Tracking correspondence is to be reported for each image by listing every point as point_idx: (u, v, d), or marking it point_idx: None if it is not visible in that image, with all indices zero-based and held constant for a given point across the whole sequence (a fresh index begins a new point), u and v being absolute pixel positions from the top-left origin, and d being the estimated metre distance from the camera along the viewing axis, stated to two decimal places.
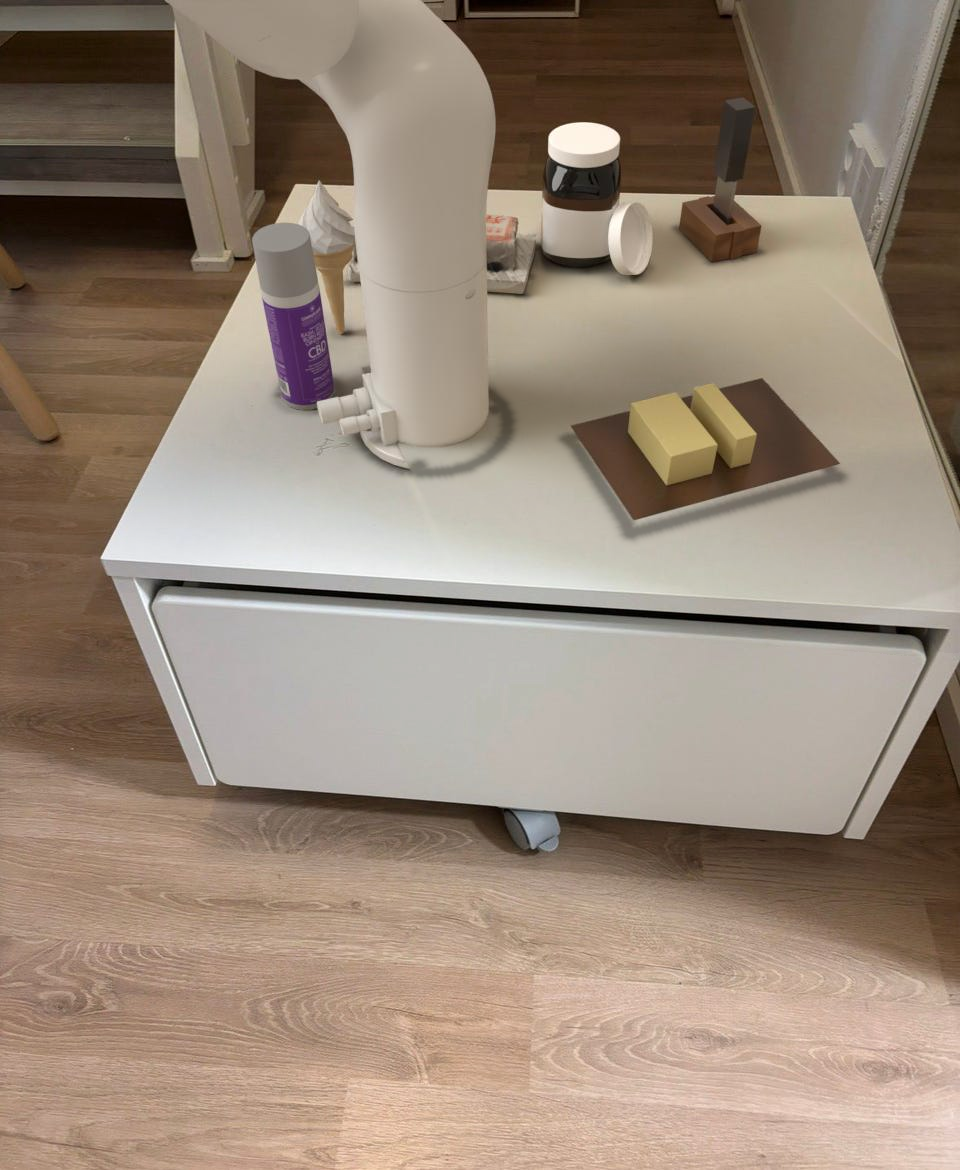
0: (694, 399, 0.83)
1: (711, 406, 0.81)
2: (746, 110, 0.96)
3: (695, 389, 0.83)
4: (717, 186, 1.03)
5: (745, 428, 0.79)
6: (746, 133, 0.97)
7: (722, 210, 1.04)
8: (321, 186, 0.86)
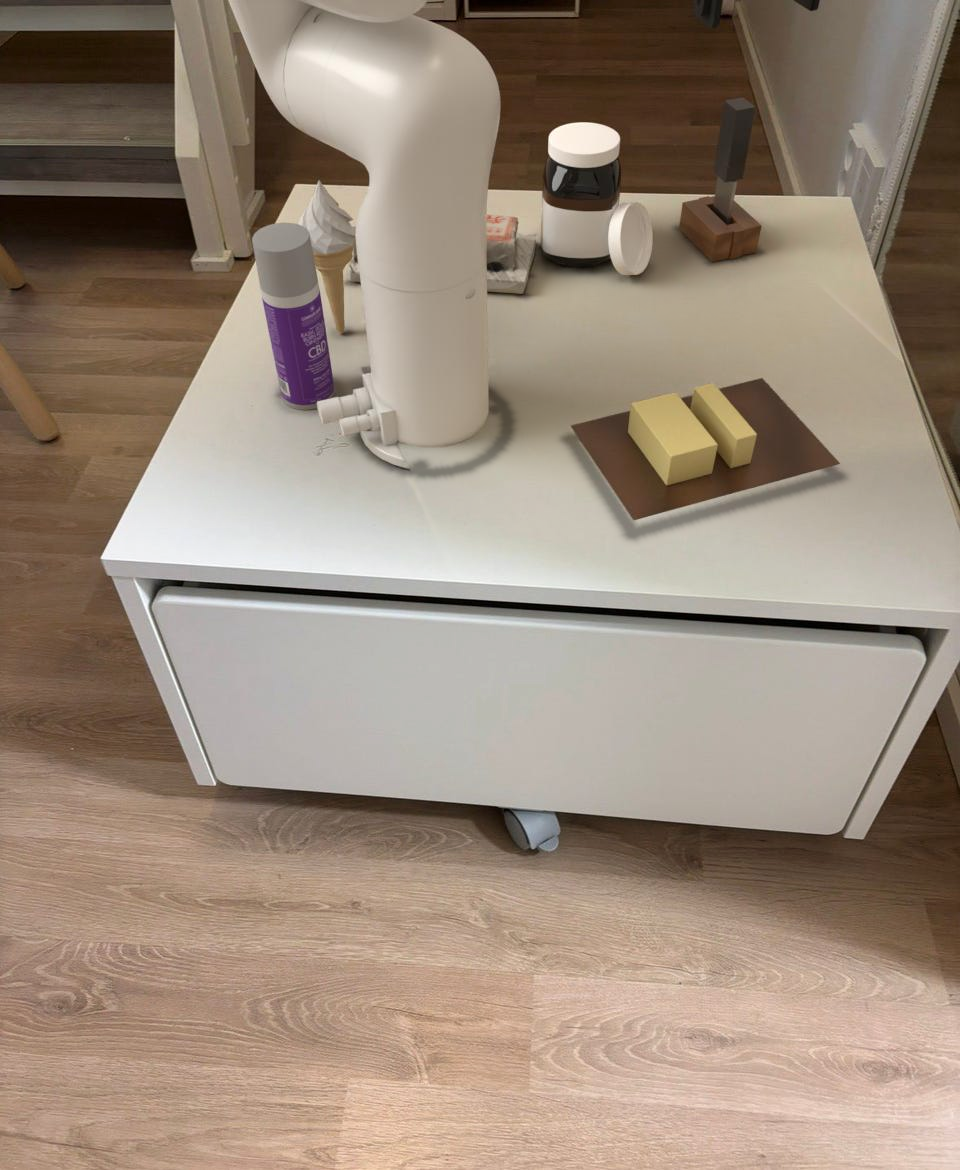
0: (694, 399, 0.83)
1: (711, 406, 0.81)
2: (746, 110, 0.96)
3: (695, 389, 0.83)
4: (717, 186, 1.03)
5: (745, 428, 0.79)
6: (746, 133, 0.97)
7: (722, 210, 1.04)
8: (321, 186, 0.86)
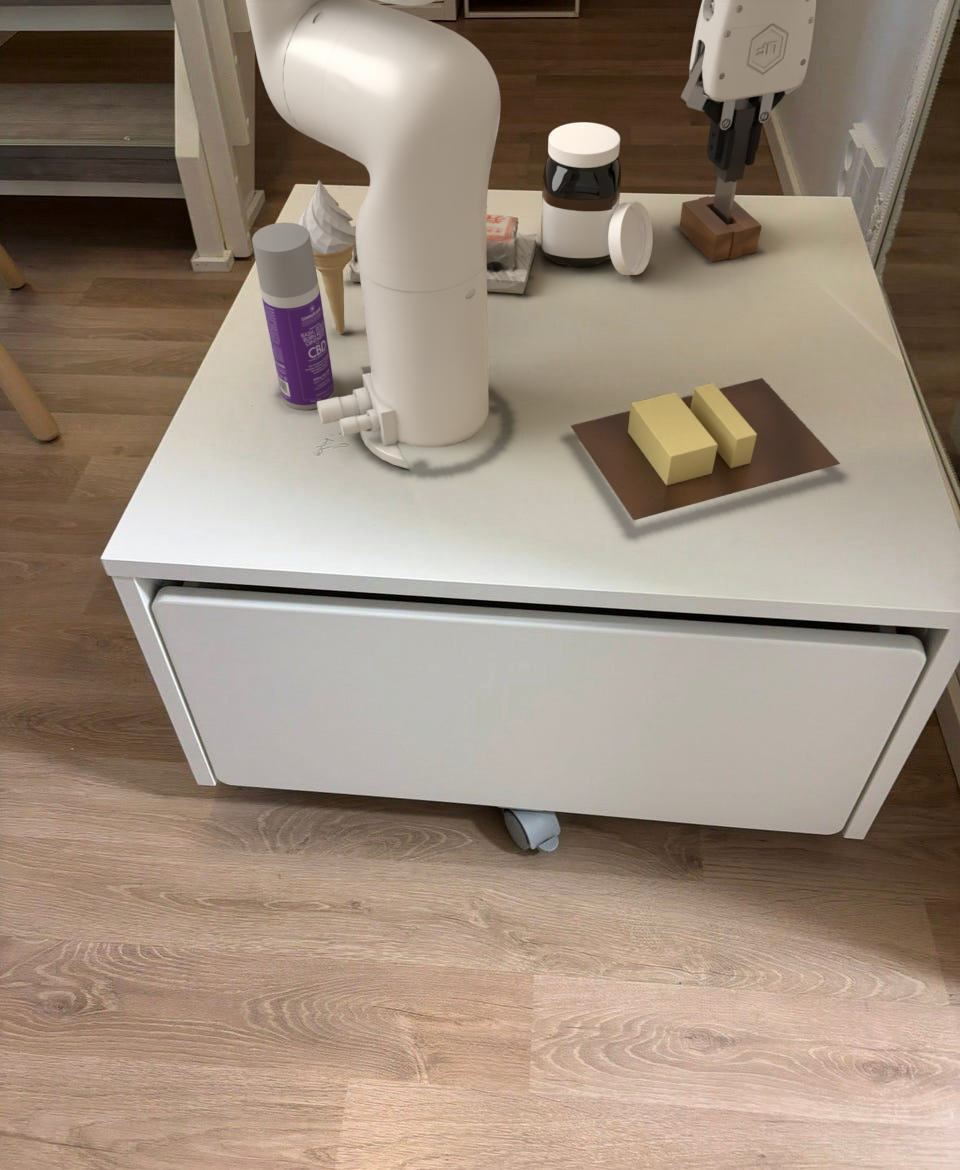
0: (694, 399, 0.83)
1: (711, 406, 0.81)
2: (746, 110, 0.96)
3: (695, 389, 0.83)
4: (717, 186, 1.03)
5: (745, 428, 0.79)
6: (746, 133, 0.97)
7: (722, 210, 1.04)
8: (321, 186, 0.86)
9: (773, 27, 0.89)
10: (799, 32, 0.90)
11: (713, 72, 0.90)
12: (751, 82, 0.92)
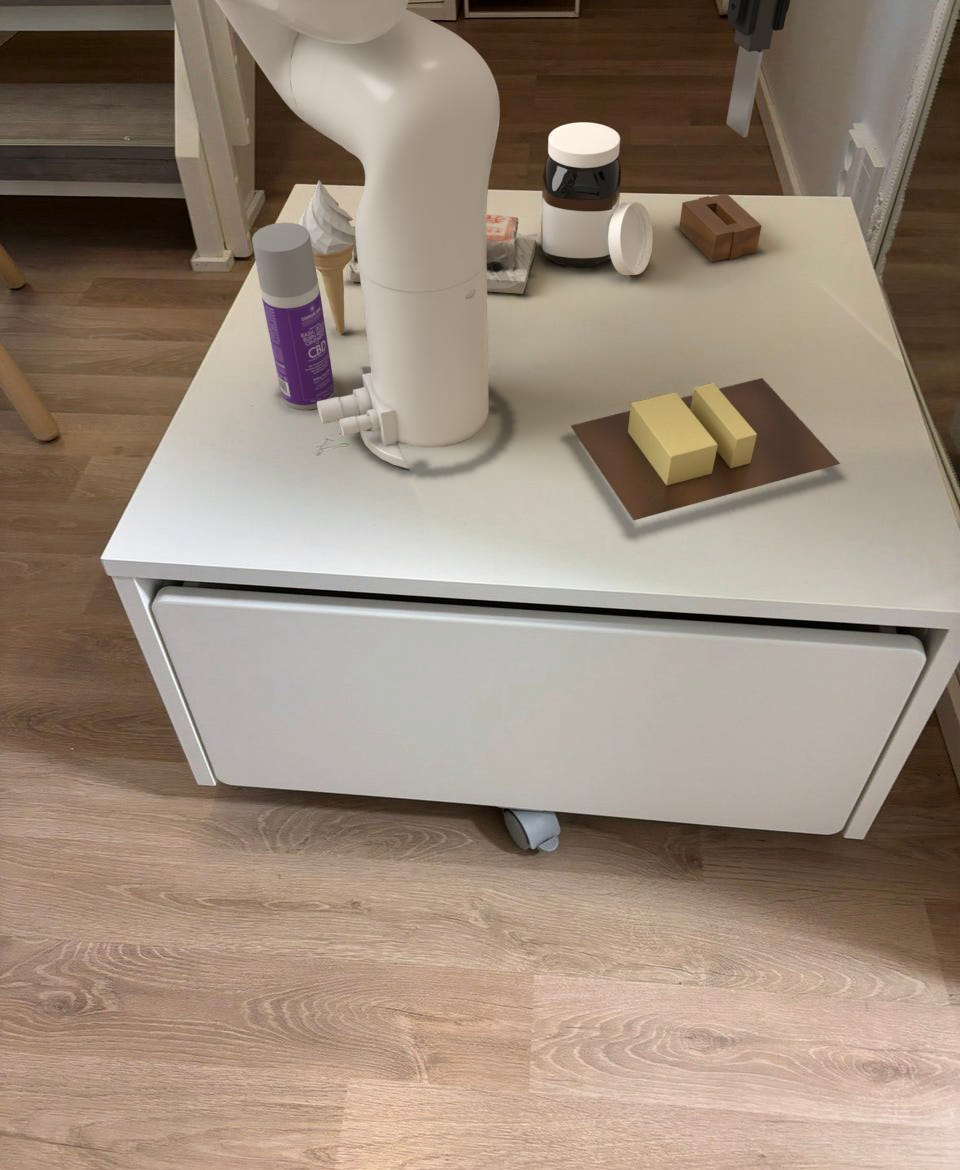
0: (694, 399, 0.83)
1: (711, 406, 0.81)
2: None
3: (695, 389, 0.83)
4: (738, 61, 0.87)
5: (745, 428, 0.79)
6: None
7: (744, 90, 0.87)
8: (321, 186, 0.86)
9: None
10: None
11: None
12: None
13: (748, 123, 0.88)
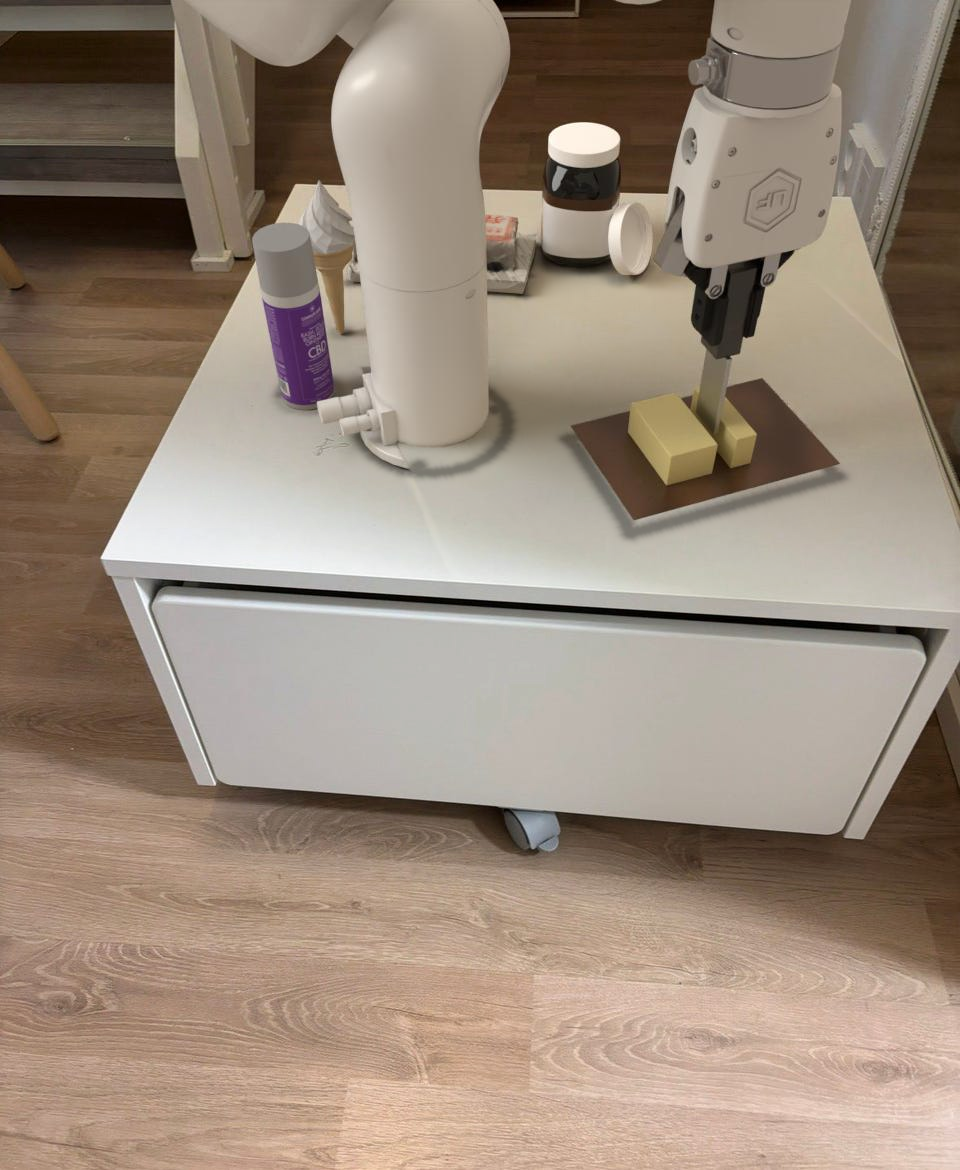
0: (694, 399, 0.83)
1: None
2: (744, 272, 0.70)
3: (695, 389, 0.83)
4: (706, 358, 0.78)
5: (745, 428, 0.79)
6: (744, 300, 0.72)
7: (713, 389, 0.78)
8: (321, 186, 0.86)
9: (780, 173, 0.63)
10: (817, 177, 0.64)
11: (697, 233, 0.65)
12: (750, 243, 0.66)
13: (718, 422, 0.79)
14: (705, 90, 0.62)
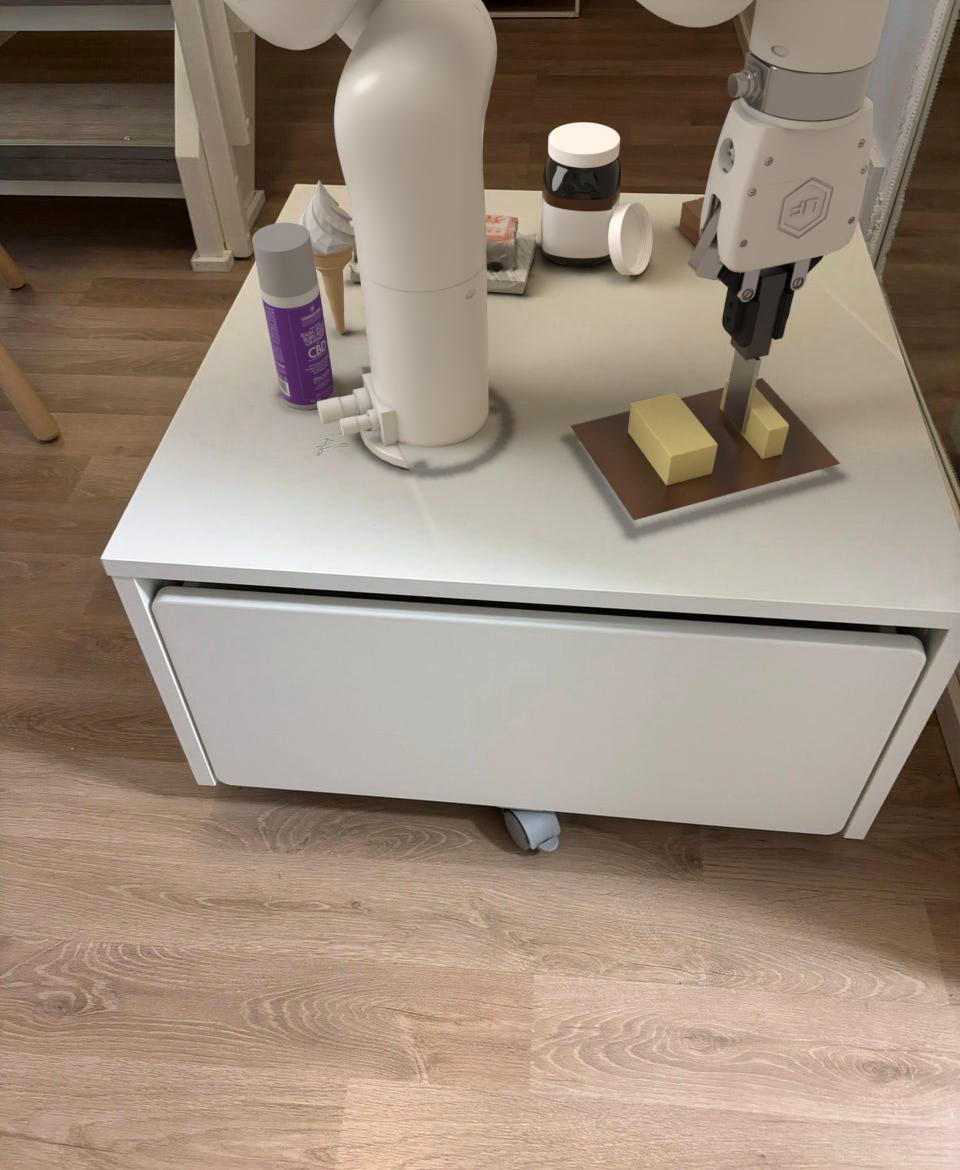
0: (726, 391, 0.84)
1: None
2: (775, 277, 0.72)
3: (726, 381, 0.83)
4: (735, 359, 0.80)
5: (777, 420, 0.80)
6: (774, 303, 0.74)
7: (741, 389, 0.81)
8: (321, 186, 0.86)
9: (814, 181, 0.66)
10: (848, 185, 0.67)
11: (732, 239, 0.67)
12: (782, 248, 0.69)
13: (746, 421, 0.82)
14: (742, 102, 0.64)
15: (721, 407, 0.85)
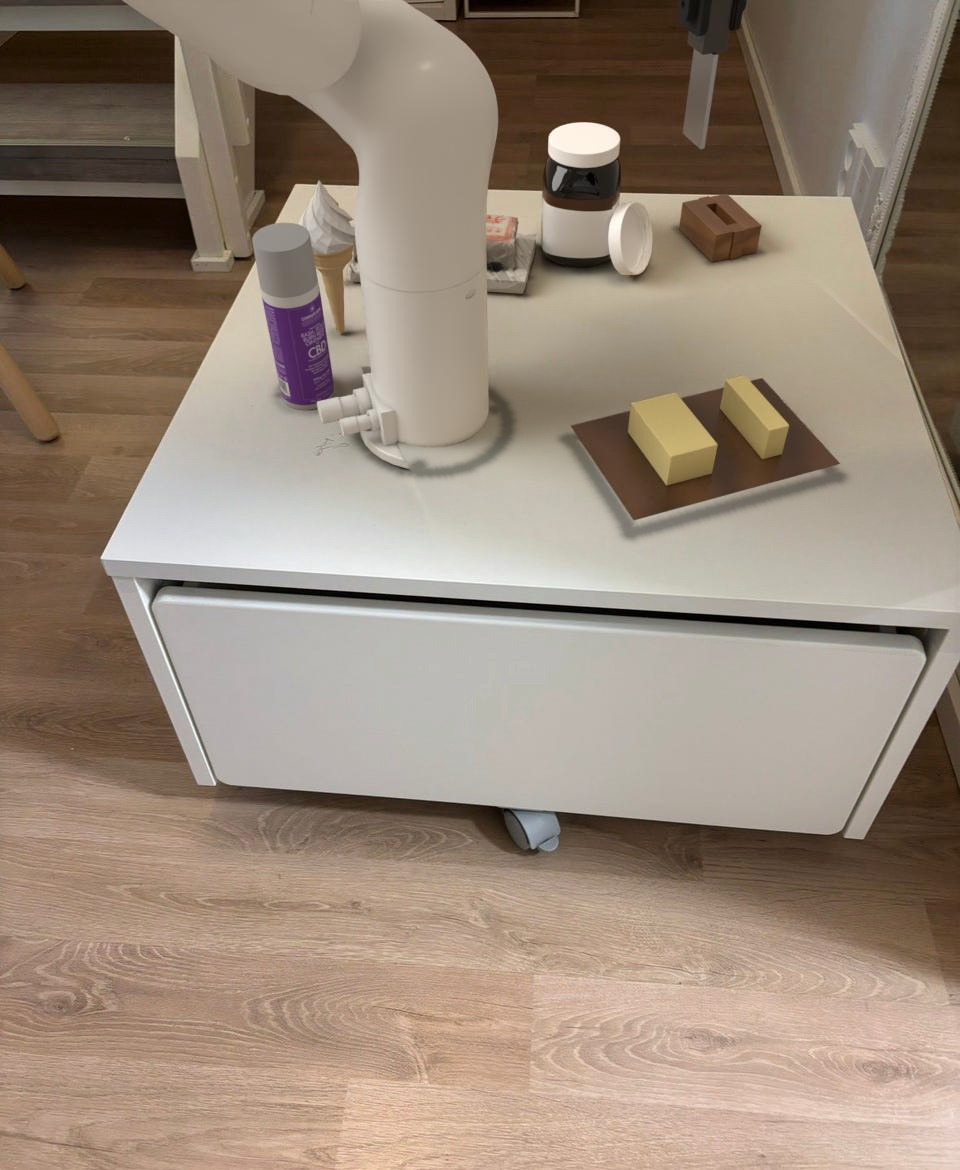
0: (726, 391, 0.84)
1: (743, 398, 0.82)
2: None
3: (726, 381, 0.83)
4: (693, 65, 0.78)
5: (777, 420, 0.80)
6: None
7: (699, 97, 0.78)
8: (321, 186, 0.86)
9: None
10: None
11: None
12: None
13: (705, 133, 0.79)
14: None
15: (721, 407, 0.85)
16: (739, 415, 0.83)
